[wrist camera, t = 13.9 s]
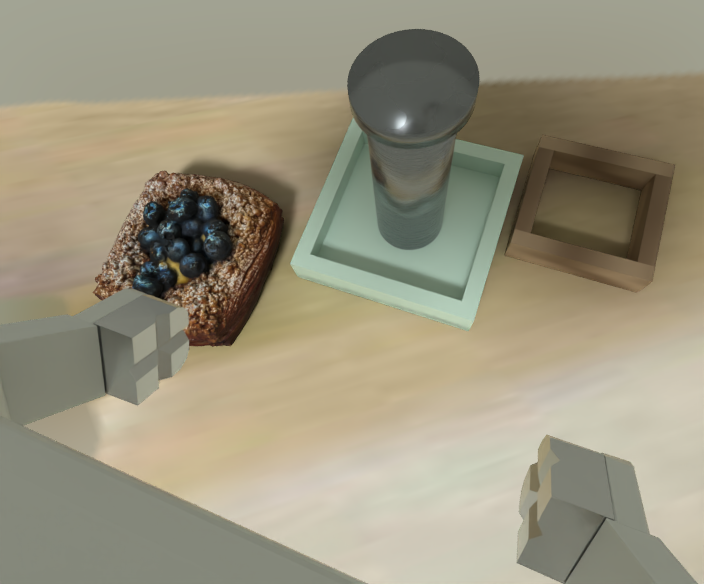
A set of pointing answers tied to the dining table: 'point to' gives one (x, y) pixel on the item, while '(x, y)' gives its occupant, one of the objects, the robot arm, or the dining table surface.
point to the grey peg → (412, 126)
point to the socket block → (608, 168)
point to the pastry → (197, 251)
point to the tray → (409, 265)
